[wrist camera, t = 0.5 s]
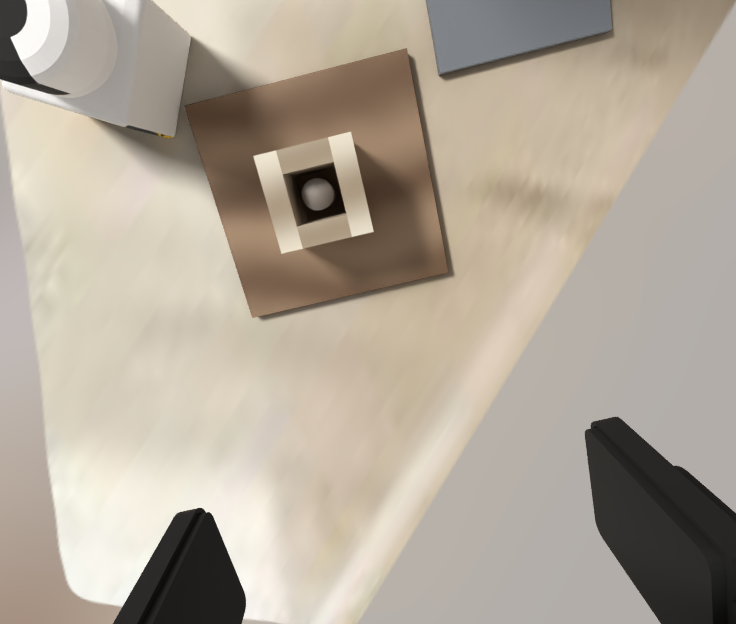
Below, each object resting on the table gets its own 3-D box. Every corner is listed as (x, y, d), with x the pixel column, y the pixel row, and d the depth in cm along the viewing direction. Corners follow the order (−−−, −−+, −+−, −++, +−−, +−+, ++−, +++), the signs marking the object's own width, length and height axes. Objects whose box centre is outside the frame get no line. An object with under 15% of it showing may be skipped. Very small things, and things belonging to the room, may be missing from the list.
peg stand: (188, 107, 32) (155, 92, 26) (405, 51, 31) (414, 24, 26) (254, 315, 36) (236, 336, 31) (446, 270, 35) (460, 284, 30)
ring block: (273, 161, 32) (253, 156, 26) (353, 141, 32) (350, 131, 26) (295, 242, 33) (281, 253, 28) (371, 224, 33) (373, 231, 27)
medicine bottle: (77, 110, 32) (-88, 65, 20) (88, 1, 30) (-85, -118, 18) (175, 140, 32) (71, 114, 21) (193, 35, 30) (89, -59, 19)
